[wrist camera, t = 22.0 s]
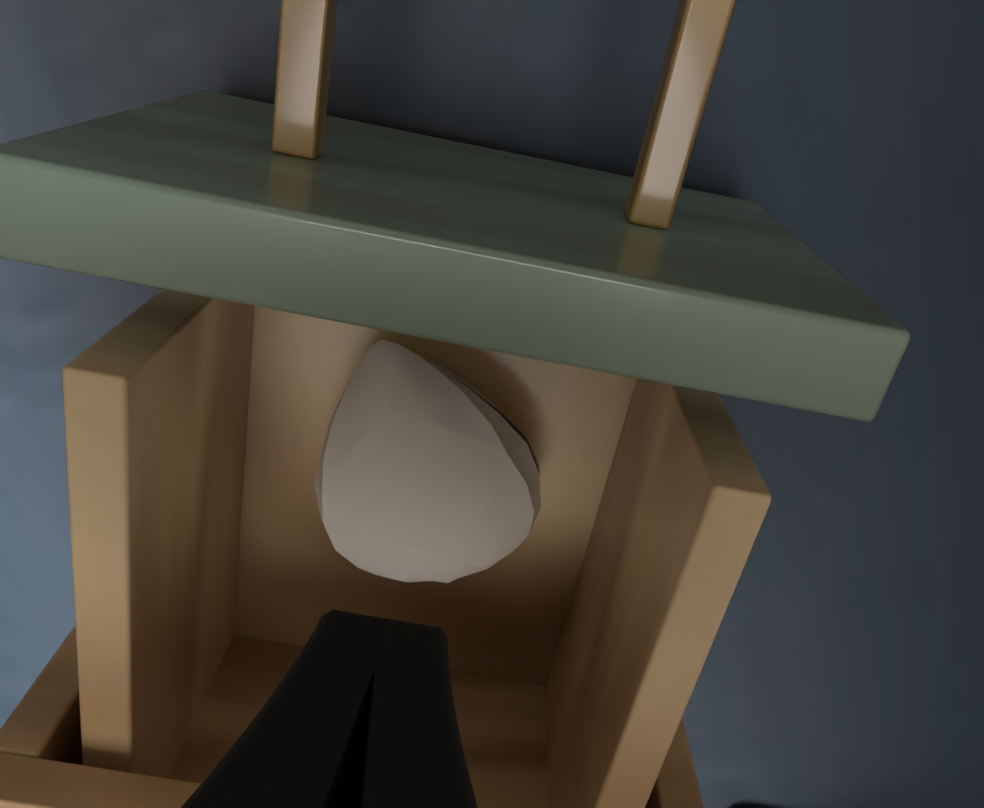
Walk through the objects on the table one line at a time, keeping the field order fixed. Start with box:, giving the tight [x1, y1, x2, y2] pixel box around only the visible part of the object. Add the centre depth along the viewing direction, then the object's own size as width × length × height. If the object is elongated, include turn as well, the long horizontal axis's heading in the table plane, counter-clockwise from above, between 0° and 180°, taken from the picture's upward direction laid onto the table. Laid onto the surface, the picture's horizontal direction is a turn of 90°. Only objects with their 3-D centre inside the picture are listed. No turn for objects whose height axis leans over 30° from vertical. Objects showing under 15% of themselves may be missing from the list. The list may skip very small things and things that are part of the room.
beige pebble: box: [314, 340, 541, 583], centre depth 15 cm, size 4×5×2 cm
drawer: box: [0, 0, 910, 808], centre depth 13 cm, size 18×10×7 cm, turn 169°
